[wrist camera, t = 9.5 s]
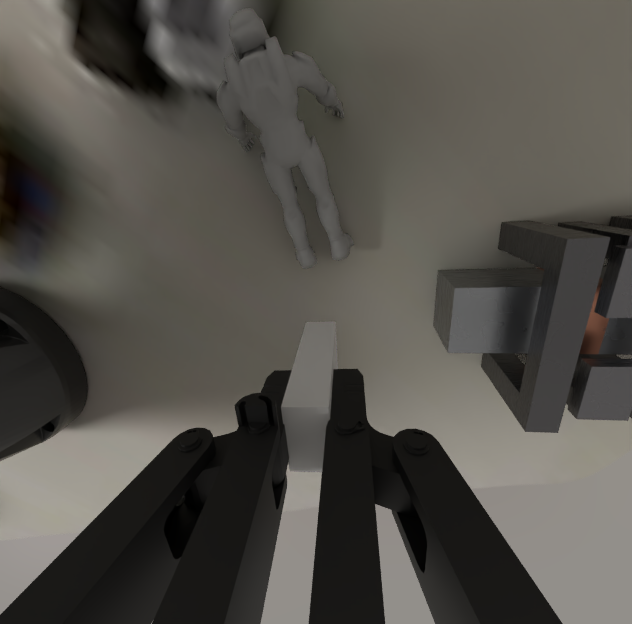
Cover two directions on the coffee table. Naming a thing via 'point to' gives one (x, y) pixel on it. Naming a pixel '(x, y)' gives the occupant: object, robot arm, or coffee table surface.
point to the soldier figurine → (281, 125)
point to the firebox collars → (568, 324)
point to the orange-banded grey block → (509, 313)
